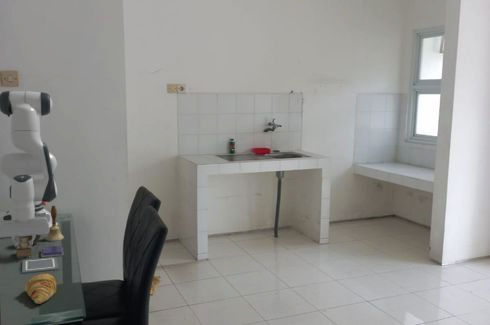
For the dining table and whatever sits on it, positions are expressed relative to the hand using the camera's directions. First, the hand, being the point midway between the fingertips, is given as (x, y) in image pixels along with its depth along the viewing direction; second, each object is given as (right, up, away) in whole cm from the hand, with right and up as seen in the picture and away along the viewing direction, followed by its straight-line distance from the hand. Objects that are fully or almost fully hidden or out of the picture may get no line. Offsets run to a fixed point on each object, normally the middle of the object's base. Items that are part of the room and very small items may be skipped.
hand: (24, 245), depth 198 cm
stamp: (0, -4, +1) cm, 4 cm away
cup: (-3, -2, +14) cm, 15 cm away
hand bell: (+3, -1, +23) cm, 24 cm away
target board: (+11, -6, -10) cm, 17 cm away
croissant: (+22, -11, -35) cm, 43 cm away
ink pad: (+10, -4, +4) cm, 12 cm away
